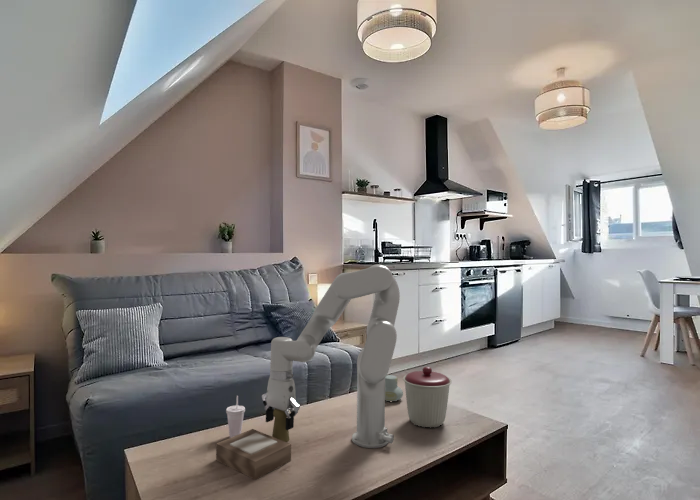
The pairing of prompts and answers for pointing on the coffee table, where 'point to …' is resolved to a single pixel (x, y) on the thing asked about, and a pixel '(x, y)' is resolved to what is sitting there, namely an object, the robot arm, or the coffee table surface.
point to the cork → (280, 425)
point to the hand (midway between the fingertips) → (279, 424)
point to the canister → (427, 397)
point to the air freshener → (392, 389)
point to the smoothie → (235, 419)
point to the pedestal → (253, 453)
